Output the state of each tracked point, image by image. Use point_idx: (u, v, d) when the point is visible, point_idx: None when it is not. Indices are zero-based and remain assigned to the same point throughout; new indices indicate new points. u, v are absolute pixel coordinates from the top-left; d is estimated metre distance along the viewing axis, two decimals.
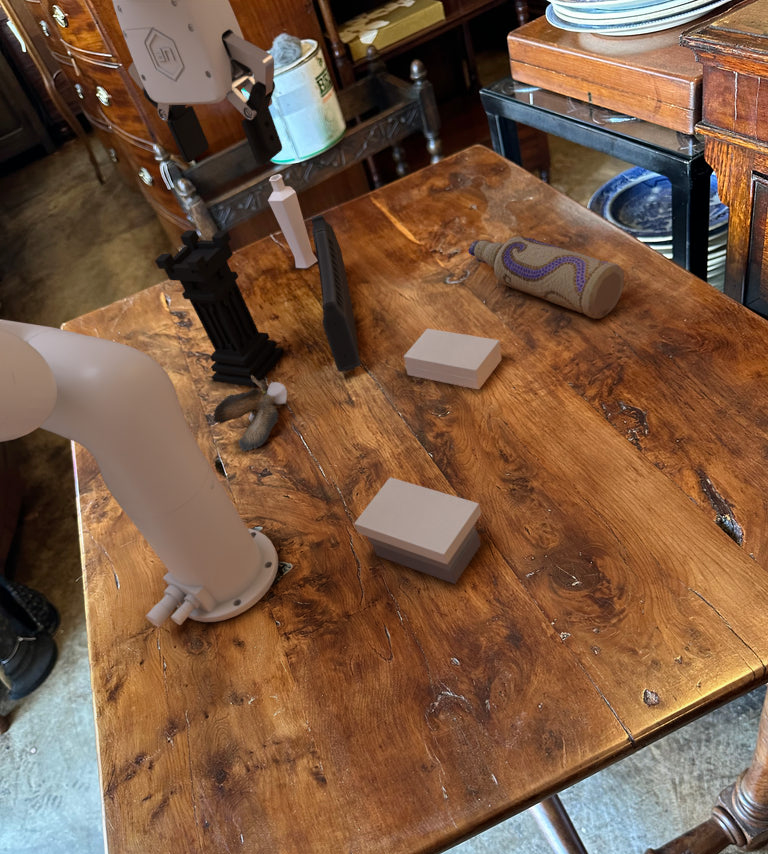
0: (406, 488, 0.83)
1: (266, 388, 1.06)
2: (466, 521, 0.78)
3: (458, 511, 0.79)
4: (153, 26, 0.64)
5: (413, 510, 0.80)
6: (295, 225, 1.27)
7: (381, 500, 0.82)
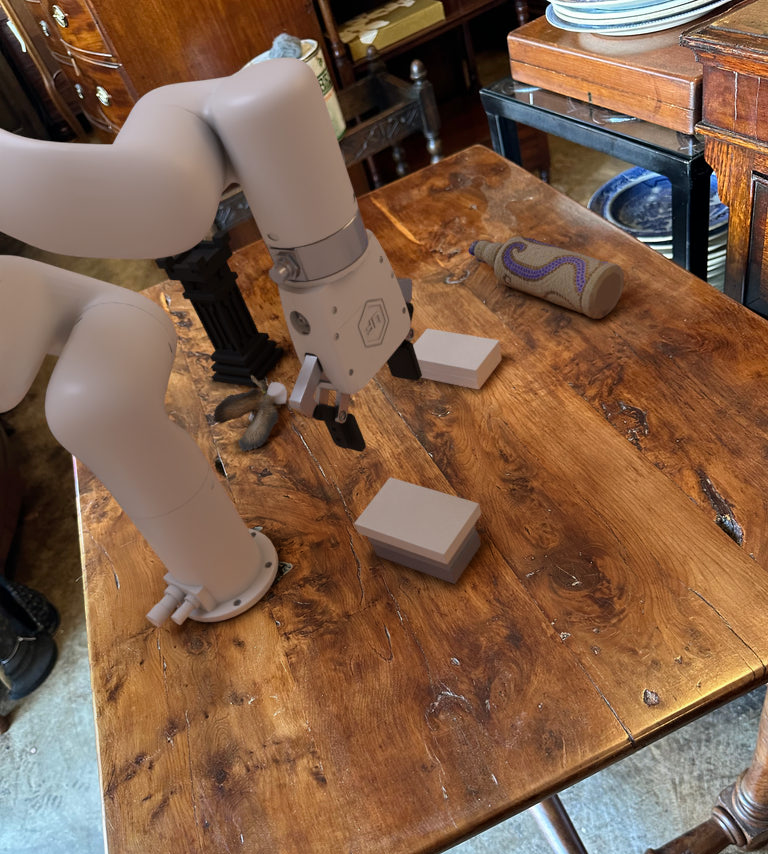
0: (406, 488, 0.83)
1: (266, 388, 1.06)
2: (466, 521, 0.78)
3: (458, 511, 0.79)
4: (367, 299, 0.62)
5: (413, 510, 0.80)
6: None
7: (381, 500, 0.82)
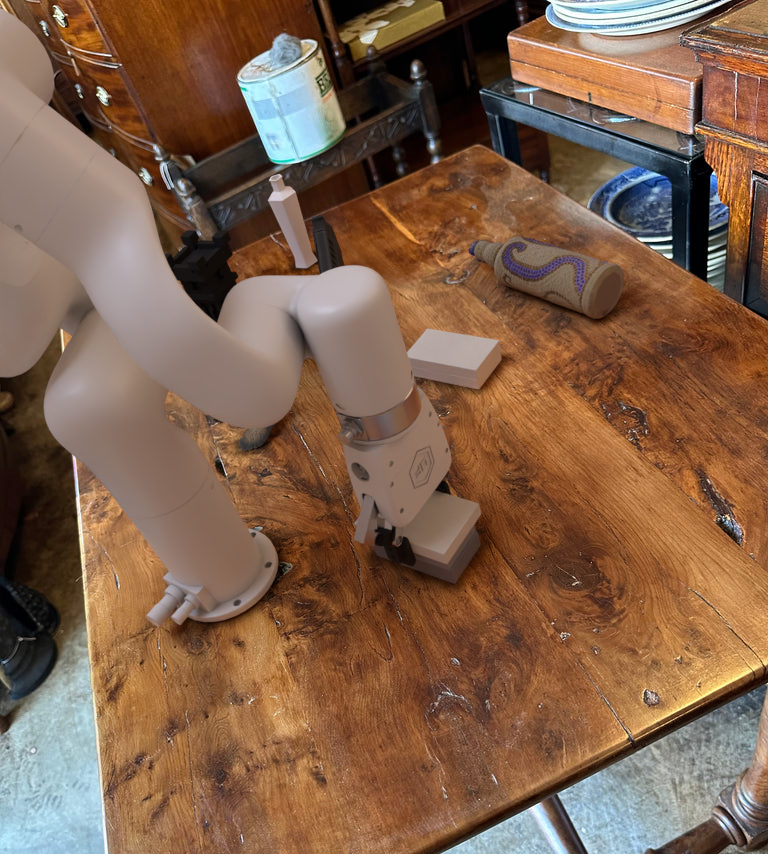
0: None
1: None
2: (466, 521, 0.78)
3: (458, 511, 0.79)
4: (417, 449, 0.72)
5: None
6: (295, 225, 1.27)
7: None
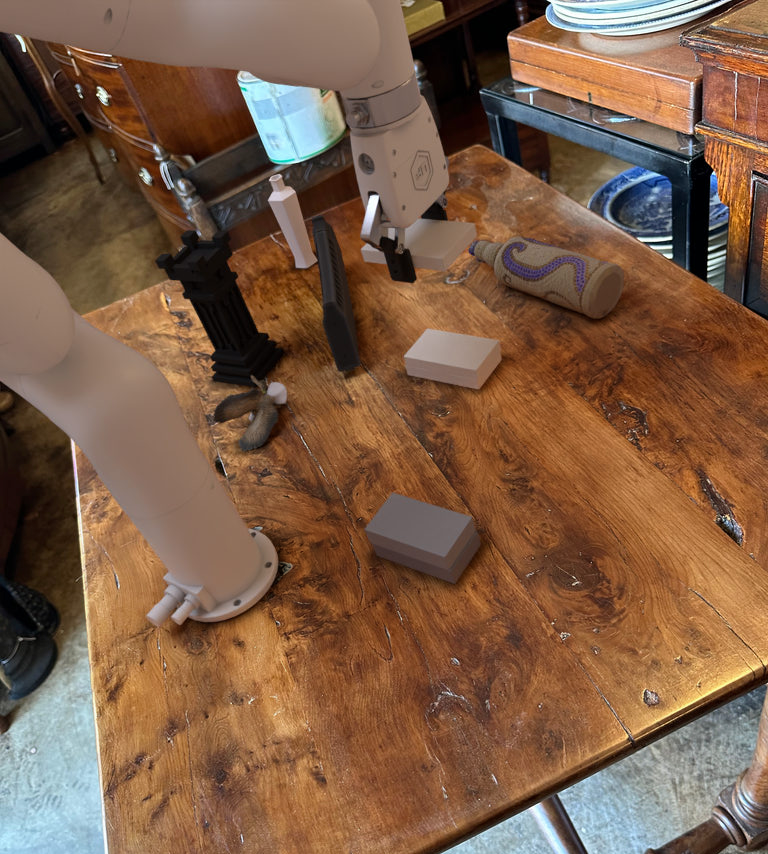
0: None
1: (266, 388, 1.06)
2: (463, 235, 0.85)
3: (456, 230, 0.86)
4: (418, 149, 0.79)
5: (414, 234, 0.88)
6: (295, 225, 1.27)
7: None
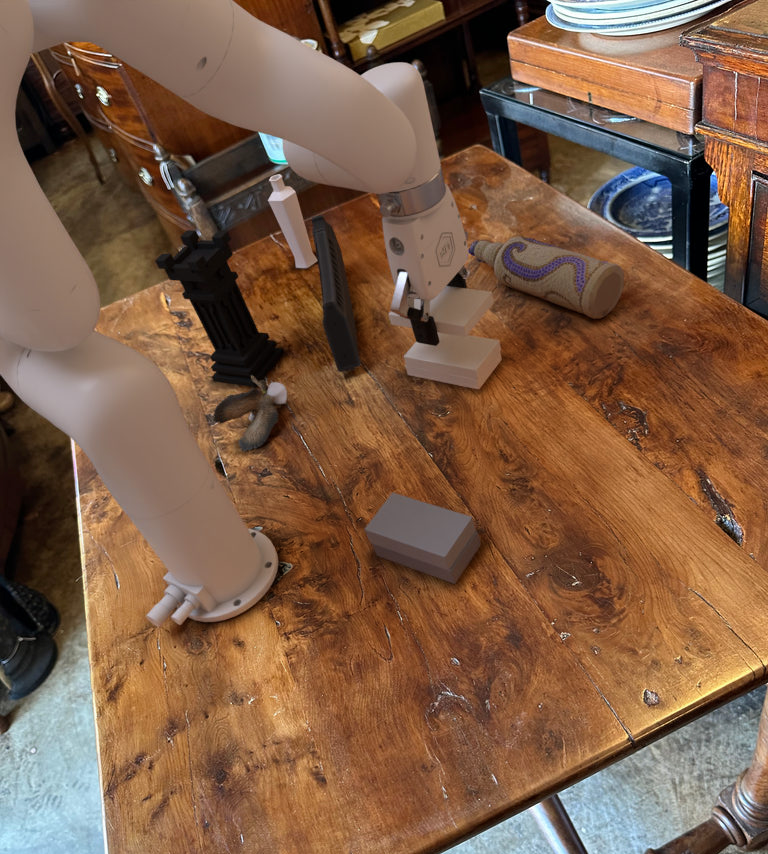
0: None
1: (266, 388, 1.06)
2: (481, 304, 0.95)
3: (475, 298, 0.96)
4: (442, 231, 0.89)
5: (437, 301, 0.97)
6: (295, 225, 1.27)
7: None
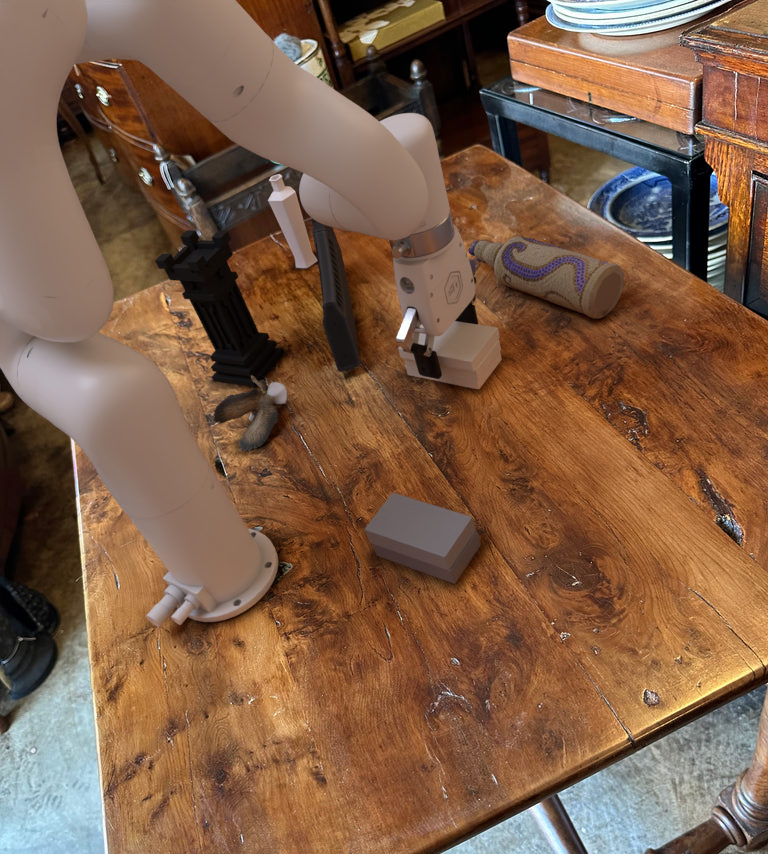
0: None
1: (266, 388, 1.06)
2: (488, 340, 0.98)
3: (482, 333, 0.99)
4: (450, 271, 0.92)
5: (445, 336, 1.01)
6: (295, 225, 1.27)
7: None
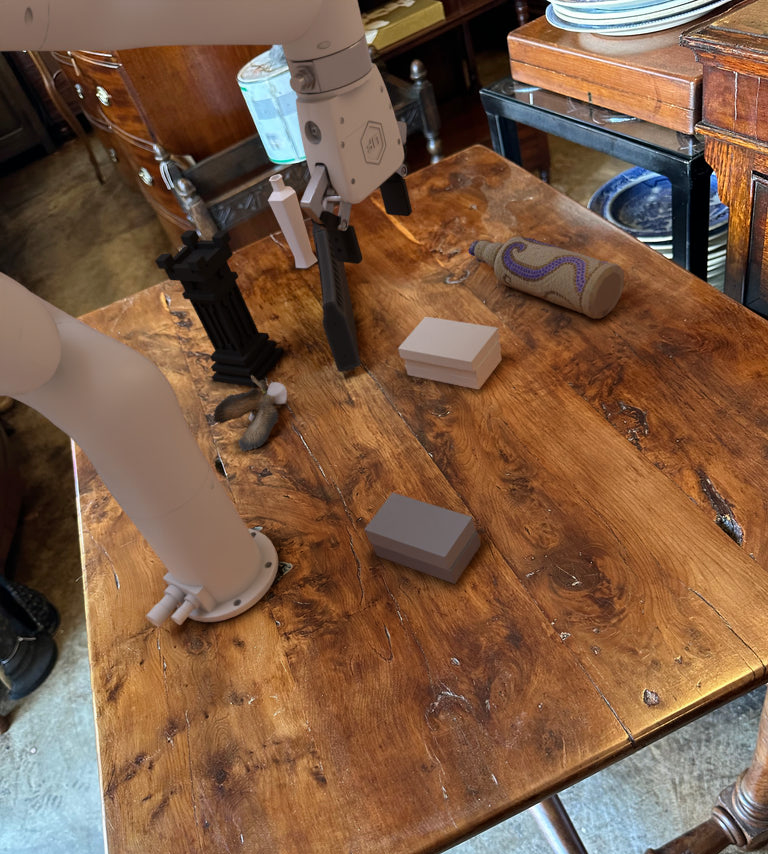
0: (439, 322, 1.03)
1: (266, 388, 1.06)
2: (488, 340, 0.98)
3: (482, 333, 0.99)
4: (368, 119, 0.75)
5: (445, 336, 1.01)
6: (295, 225, 1.27)
7: (419, 331, 1.03)
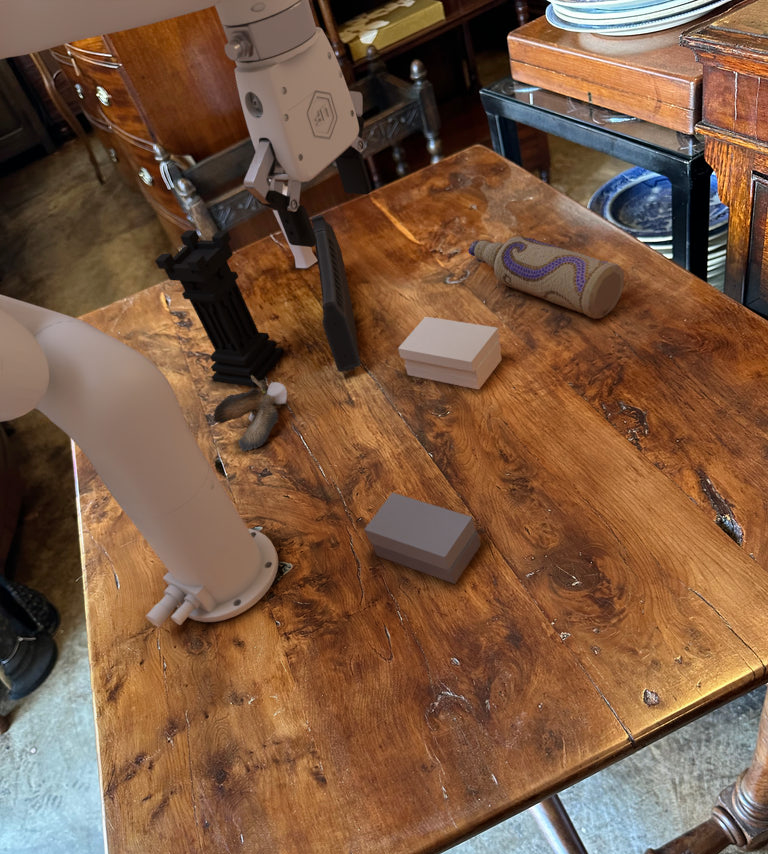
0: (439, 322, 1.03)
1: (266, 388, 1.06)
2: (488, 340, 0.98)
3: (482, 333, 0.99)
4: (315, 89, 0.69)
5: (445, 336, 1.01)
6: None
7: (419, 331, 1.03)
